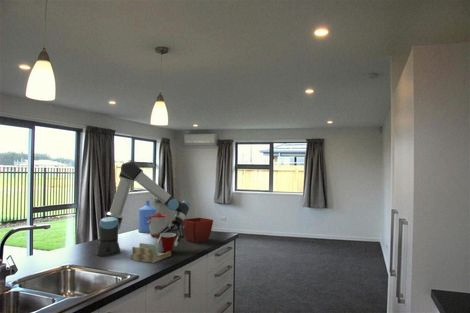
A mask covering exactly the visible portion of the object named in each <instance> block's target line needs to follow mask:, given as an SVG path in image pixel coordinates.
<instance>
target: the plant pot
mask: <svg viewBox="0 0 470 313" xmlns="http://www.w3.org/2000/svg"><path fill="white" fill-rule="evenodd" d="M213 224H214V219H211V218H205V217H194V218H192V217H191V218H185V219H184V221H183V224H182V225H184V238H185V240H186V241H188V242H191V243H195V244H196V243H202V242H208V241H209V238H210V235H211V233H212V228H213Z"/></svg>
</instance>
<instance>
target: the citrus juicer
mask: <svg viewBox="0 0 470 313" xmlns="http://www.w3.org/2000/svg"><path fill="white" fill-rule="evenodd" d="M147 223H149V229H150V233H149V234H150V236H151V237H154V238H156V237H157V238H159V236H160V235H159V234H158V233H159V232H160V231H161V230H162V229H163V228H164V227H165V226H166V225H167V224H168V215H166V214H161V212H156V215H151V216H149V220H148V221H147Z"/></svg>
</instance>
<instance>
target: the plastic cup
mask: <svg viewBox="0 0 470 313" xmlns="http://www.w3.org/2000/svg"><path fill="white" fill-rule="evenodd" d="M160 236H161V239H162V241H161V244H162V245H161V246H162V251H163V252H164V253H166V252H169V251H171V253H172V252H173V248H174V243H175V240H176V236H177V233H173V232H168V233H162V234H160Z"/></svg>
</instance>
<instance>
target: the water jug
mask: <svg viewBox="0 0 470 313" xmlns="http://www.w3.org/2000/svg"><path fill="white" fill-rule="evenodd" d="M156 214H157V208H156V207H154V206H153V205H152V206H151V205H150V200H145V205H144V206H142V207H140V208H139V209H138V229H137V230H138V232H139V233H141V234H142V233H143V234H148V233H149V234H150V229H149V223H147V221H148V220H149V216H151V215H156Z"/></svg>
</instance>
